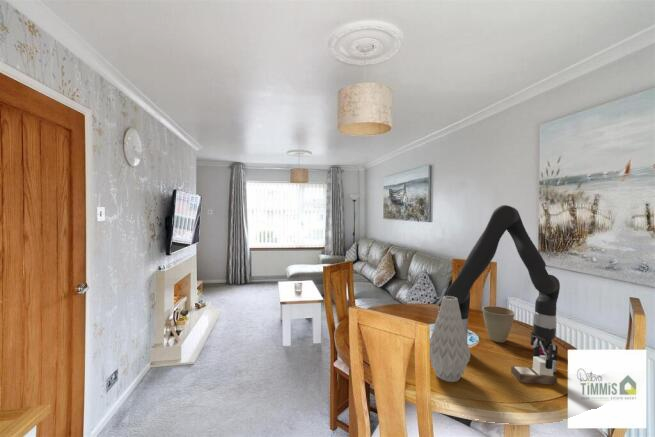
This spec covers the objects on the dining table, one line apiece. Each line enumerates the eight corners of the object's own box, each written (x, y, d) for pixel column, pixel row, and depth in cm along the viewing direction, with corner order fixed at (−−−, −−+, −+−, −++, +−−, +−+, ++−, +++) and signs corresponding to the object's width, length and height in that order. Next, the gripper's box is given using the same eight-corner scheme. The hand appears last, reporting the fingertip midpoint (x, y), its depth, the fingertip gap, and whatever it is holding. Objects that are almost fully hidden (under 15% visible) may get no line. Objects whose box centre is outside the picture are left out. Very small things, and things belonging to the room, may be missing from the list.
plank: (519, 382, 123) (519, 374, 123) (511, 372, 130) (511, 365, 130) (556, 384, 122) (557, 377, 122) (546, 375, 129) (546, 368, 129)
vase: (430, 362, 138) (433, 289, 137) (471, 372, 130) (474, 295, 129) (421, 379, 124) (424, 299, 123) (466, 393, 115) (469, 306, 114)
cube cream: (539, 374, 124) (540, 362, 123) (532, 368, 129) (533, 356, 128) (552, 375, 123) (553, 363, 123) (545, 369, 128) (545, 357, 128)
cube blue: (543, 371, 132) (543, 360, 132) (536, 365, 137) (537, 354, 137) (555, 372, 131) (556, 361, 131) (548, 366, 136) (549, 355, 136)
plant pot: (502, 334, 171) (503, 305, 171) (519, 346, 157) (521, 315, 156) (476, 333, 171) (477, 305, 170) (491, 345, 156) (492, 314, 156)
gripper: (525, 317, 132) (523, 354, 133) (545, 330, 118) (542, 371, 119) (544, 318, 132) (541, 355, 132) (566, 331, 117) (563, 373, 118)
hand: (542, 363), depth 126 cm, fingers open, 8 cm apart
